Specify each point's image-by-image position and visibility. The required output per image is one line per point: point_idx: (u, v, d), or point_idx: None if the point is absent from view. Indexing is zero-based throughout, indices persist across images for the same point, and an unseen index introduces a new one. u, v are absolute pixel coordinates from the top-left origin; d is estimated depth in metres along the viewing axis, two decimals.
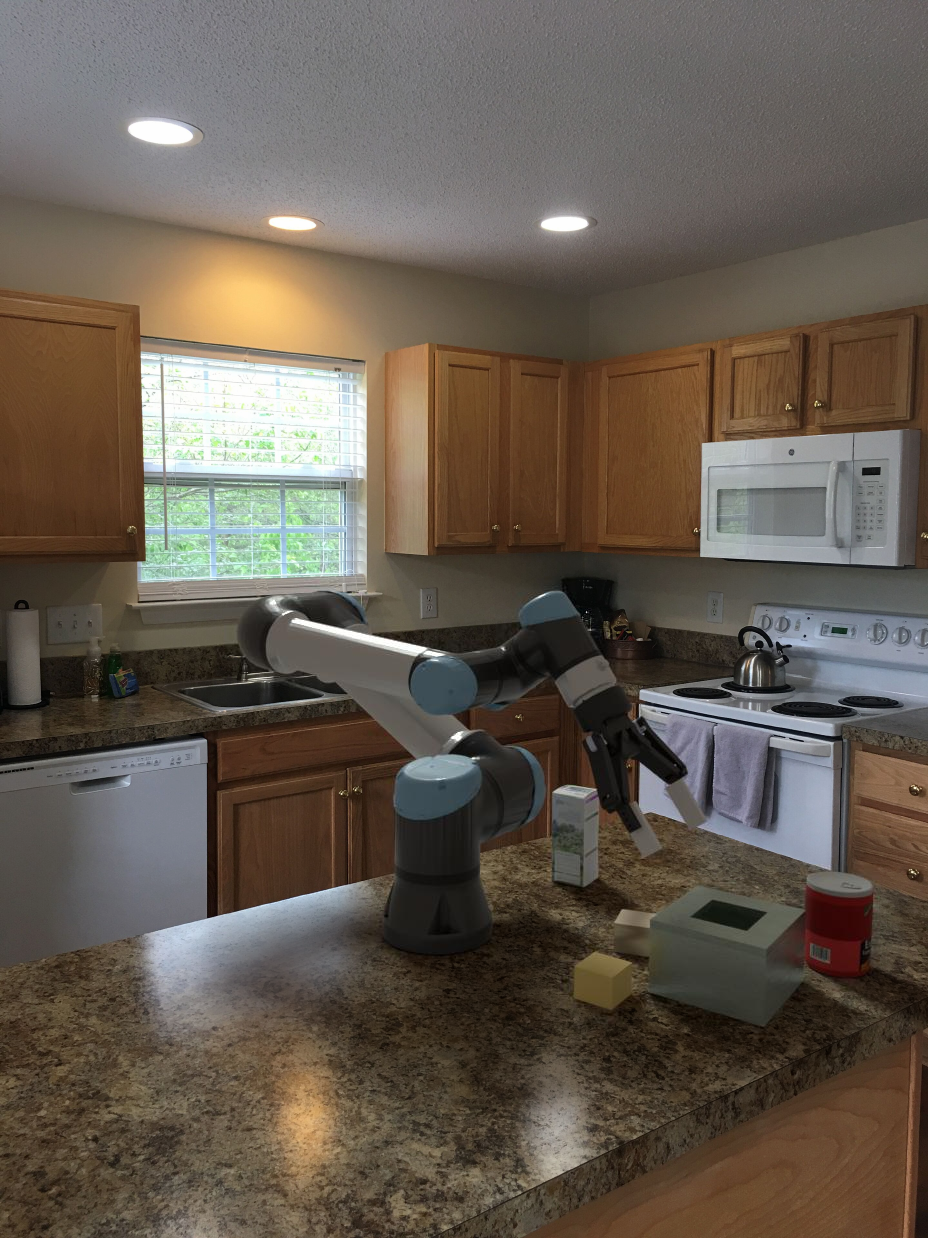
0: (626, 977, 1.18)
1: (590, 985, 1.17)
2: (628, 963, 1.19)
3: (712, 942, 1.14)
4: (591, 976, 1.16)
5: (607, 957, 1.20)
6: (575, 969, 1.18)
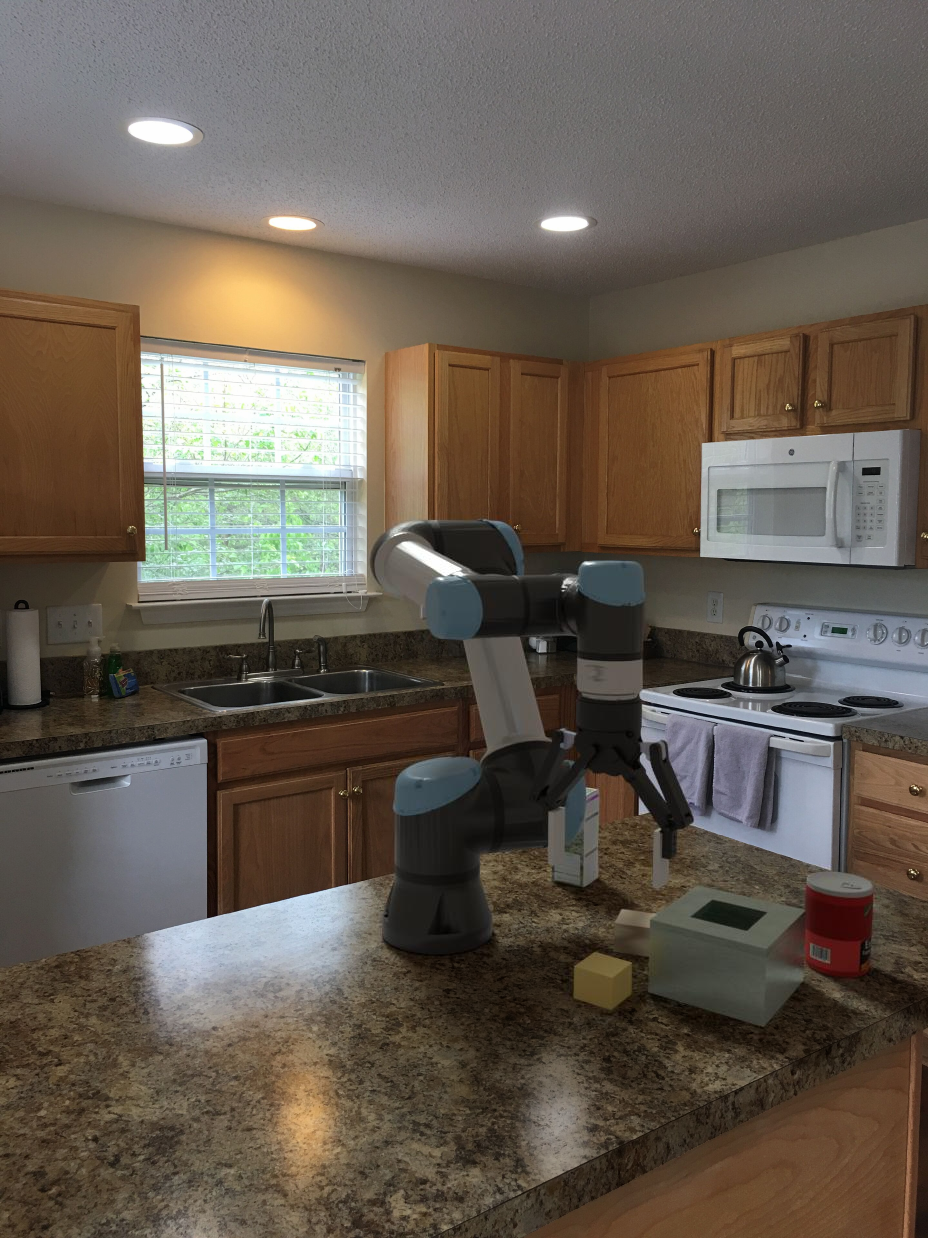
0: (626, 977, 1.18)
1: (589, 985, 1.17)
2: (628, 963, 1.19)
3: (712, 942, 1.14)
4: (591, 976, 1.16)
5: (607, 957, 1.20)
6: (575, 969, 1.18)
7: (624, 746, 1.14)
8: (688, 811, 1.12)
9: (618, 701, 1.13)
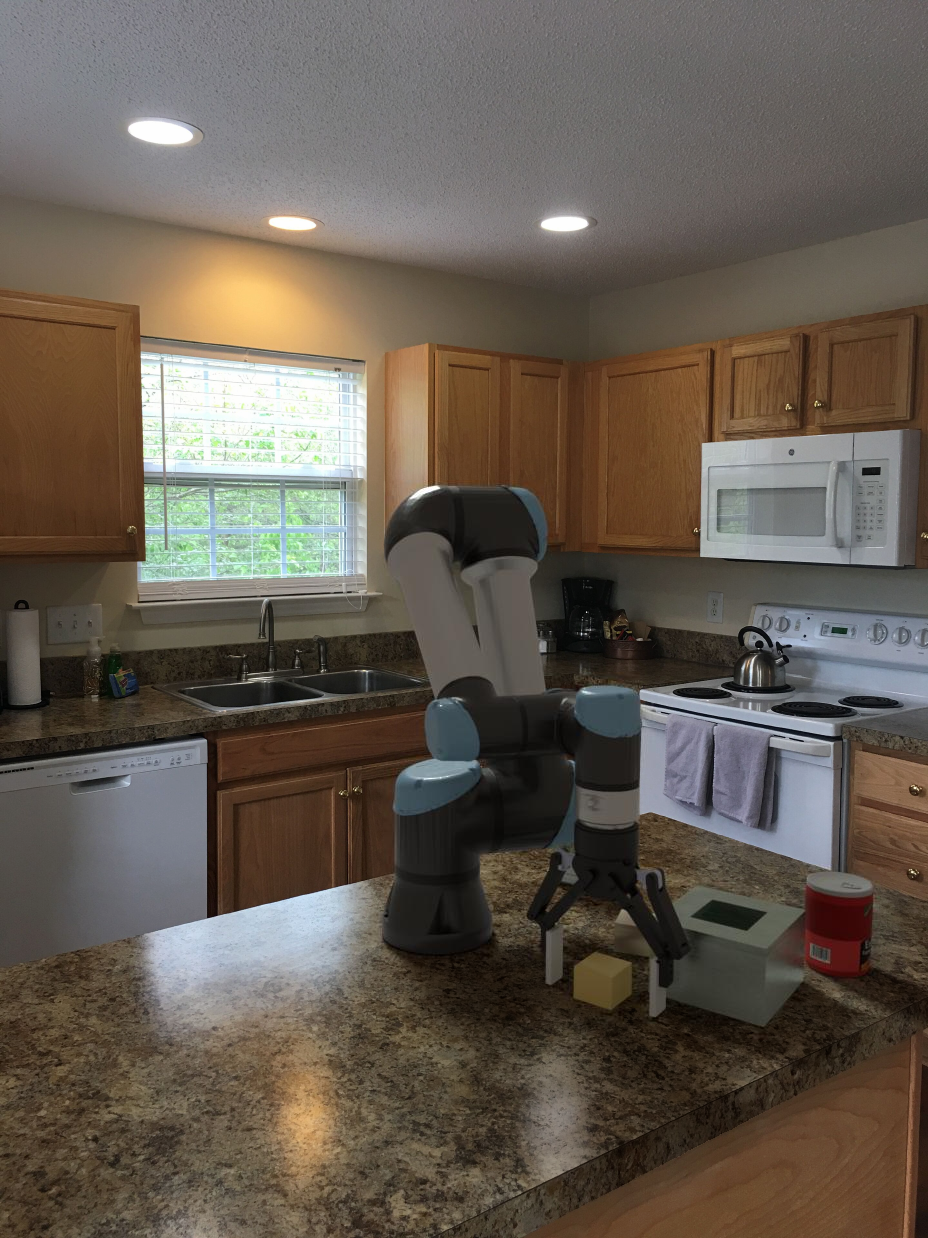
0: (626, 977, 1.18)
1: (589, 985, 1.17)
2: (628, 963, 1.19)
3: (712, 942, 1.14)
4: (591, 976, 1.16)
5: (607, 957, 1.20)
6: (575, 969, 1.18)
7: (621, 874, 1.15)
8: (685, 941, 1.12)
9: (614, 830, 1.14)
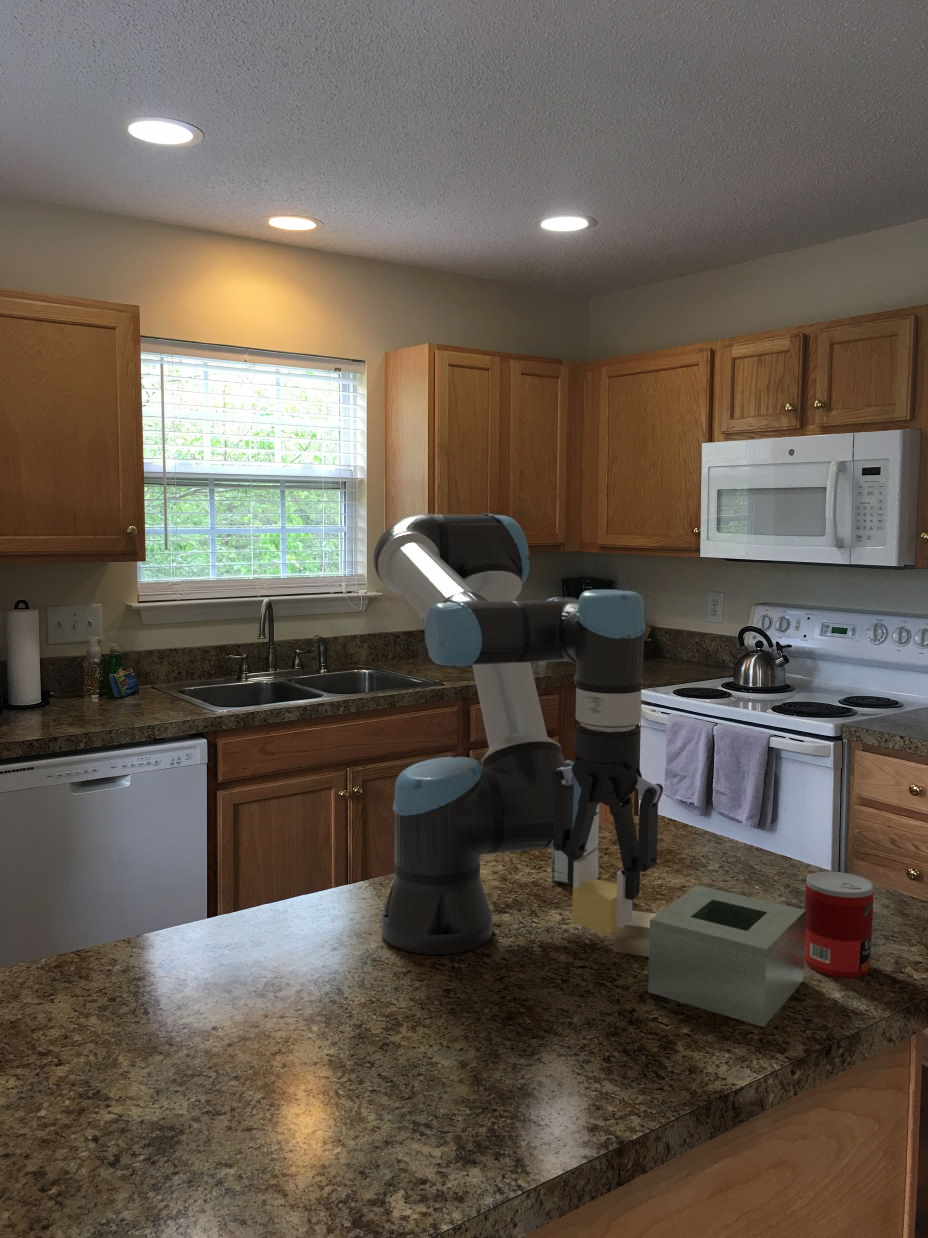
0: None
1: (588, 909, 1.16)
2: None
3: (712, 942, 1.14)
4: (590, 899, 1.16)
5: (606, 883, 1.20)
6: (574, 893, 1.17)
7: (622, 775, 1.14)
8: (654, 856, 1.14)
9: (615, 732, 1.13)
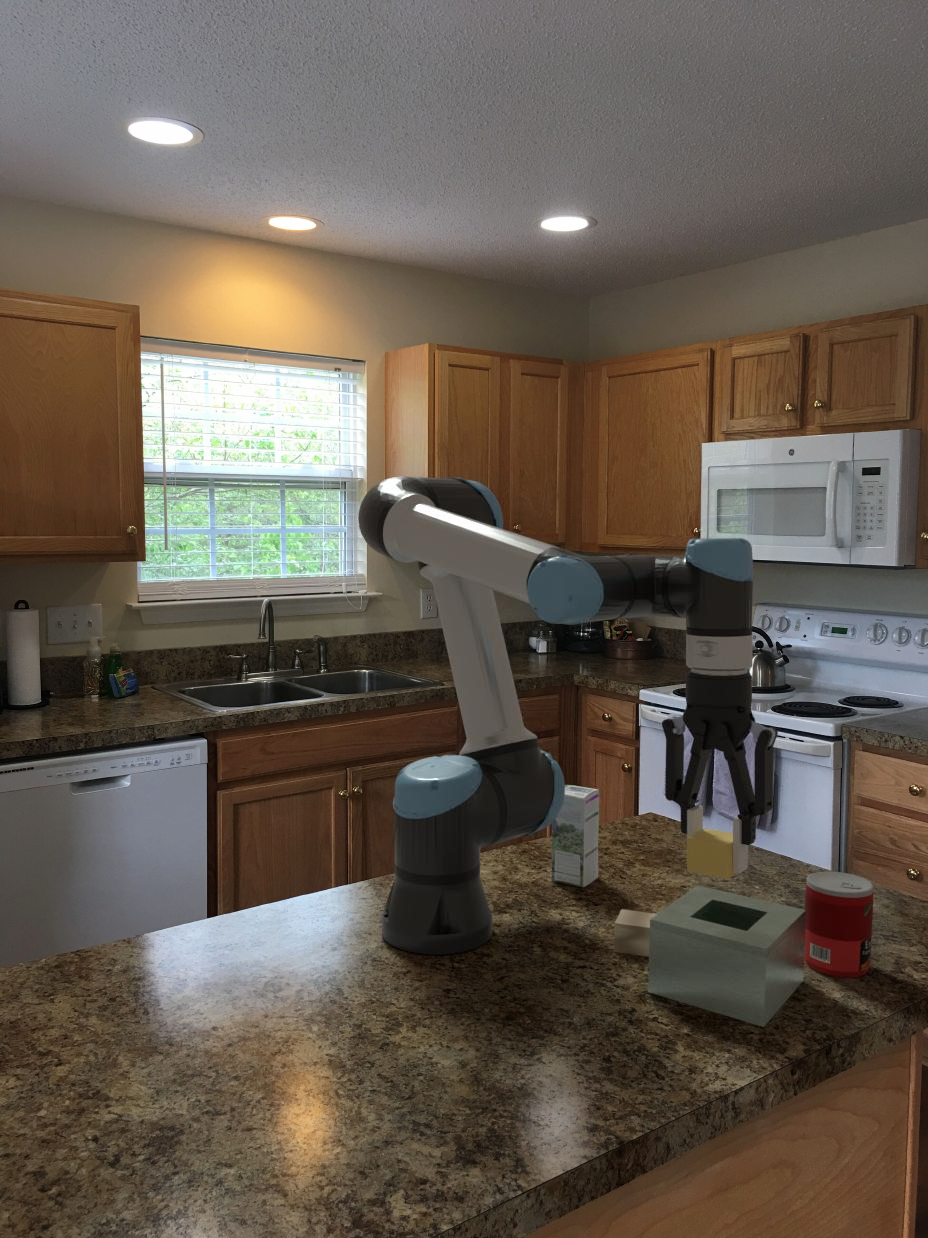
0: None
1: (704, 855, 1.16)
2: None
3: (712, 942, 1.14)
4: (705, 845, 1.16)
5: (719, 831, 1.20)
6: (688, 840, 1.18)
7: (736, 720, 1.15)
8: (770, 800, 1.15)
9: (728, 676, 1.14)
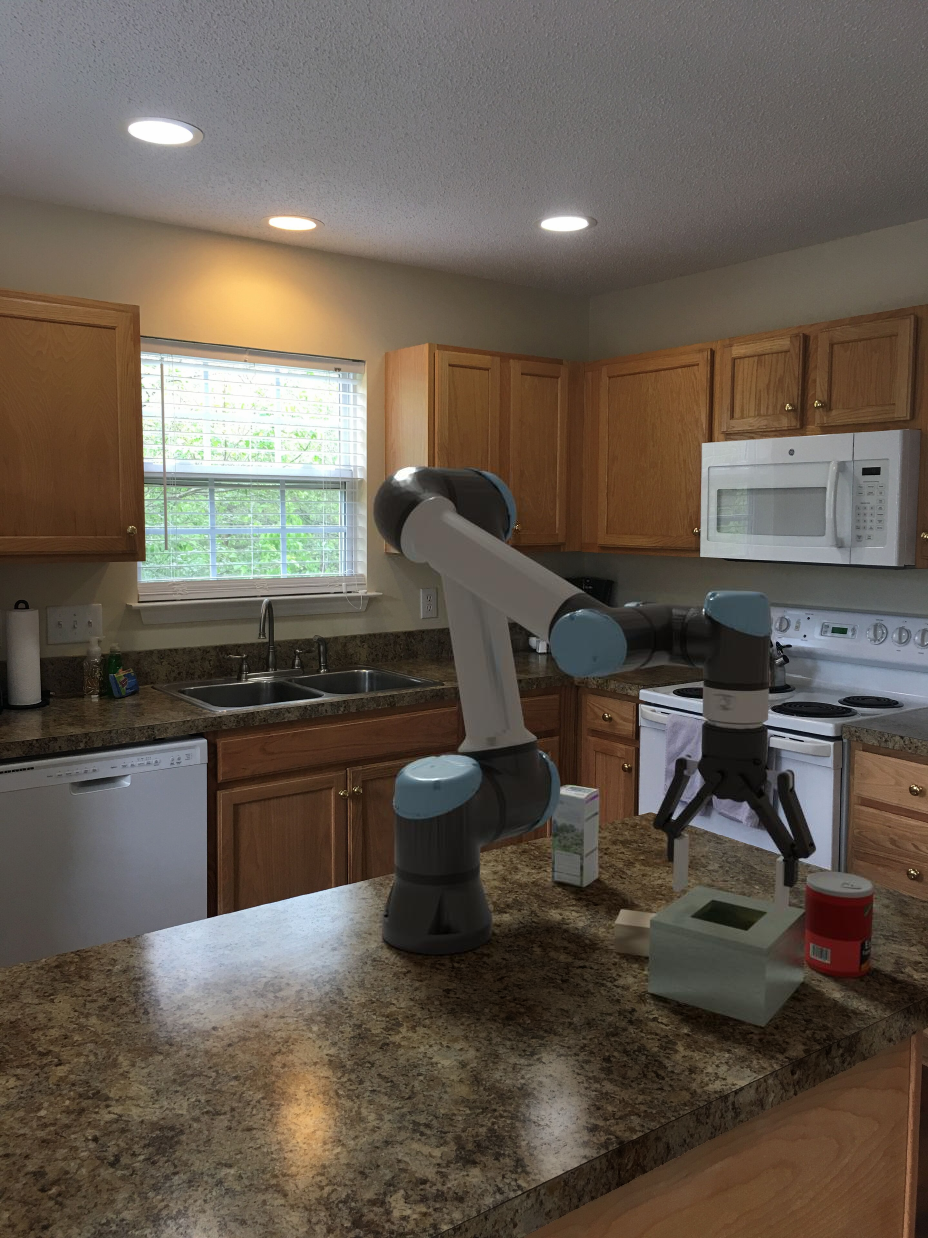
0: None
1: None
2: None
3: (712, 942, 1.14)
4: None
5: None
6: None
7: (751, 773, 1.16)
8: (811, 841, 1.14)
9: (746, 729, 1.15)
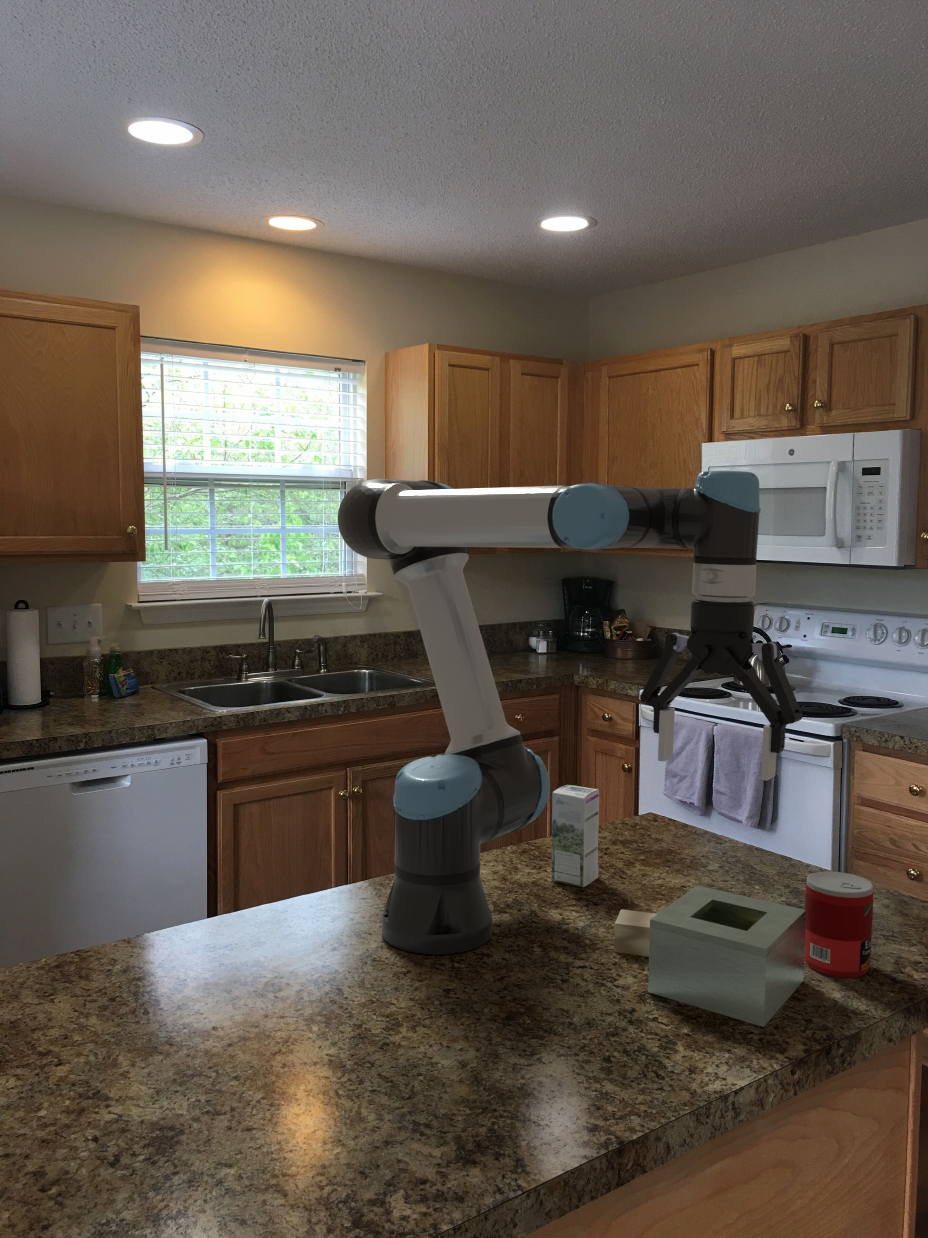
0: None
1: None
2: None
3: (712, 942, 1.14)
4: None
5: None
6: None
7: (737, 646, 1.21)
8: (797, 708, 1.18)
9: (732, 603, 1.19)
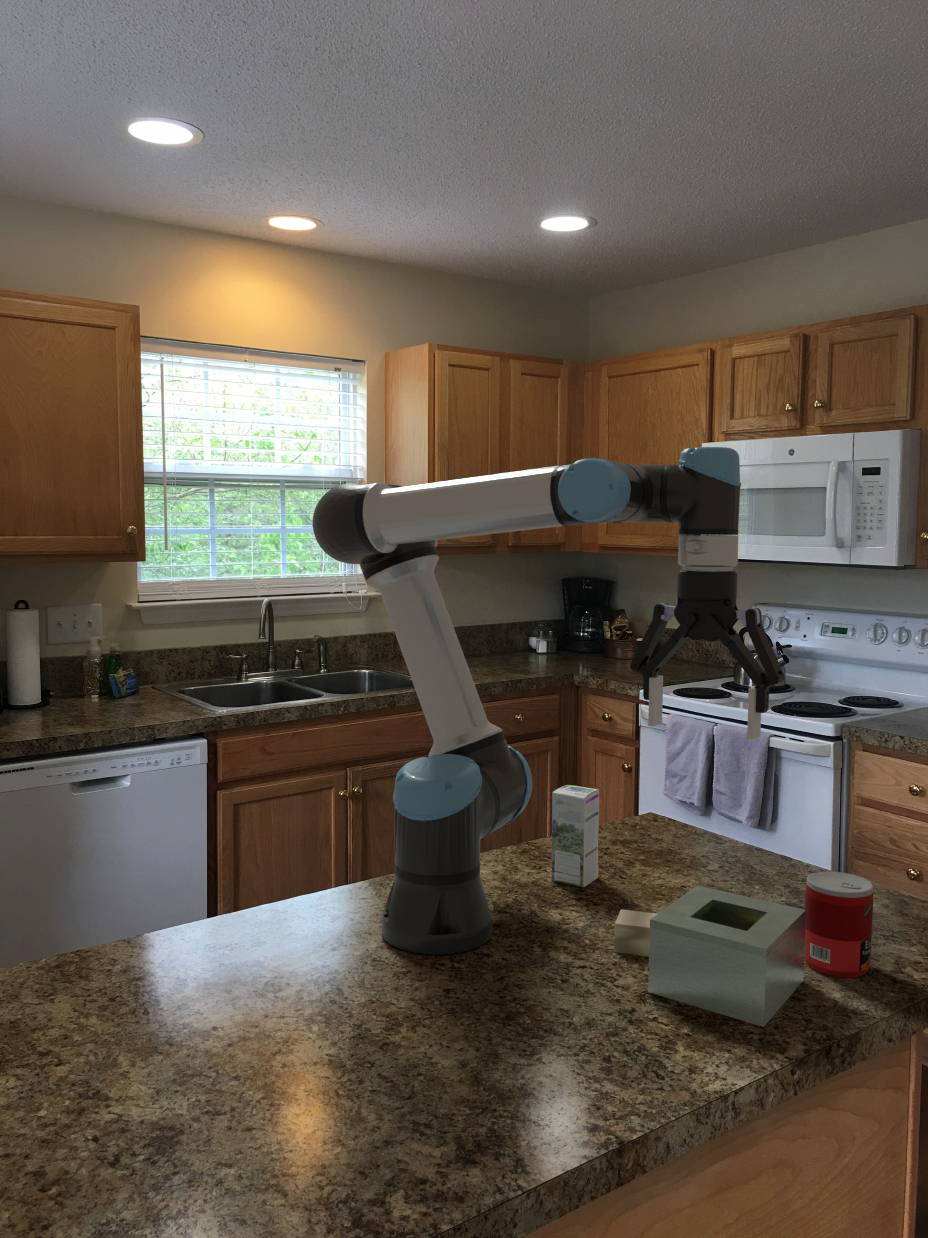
0: None
1: None
2: None
3: (712, 942, 1.14)
4: None
5: None
6: None
7: (722, 613, 1.27)
8: (780, 669, 1.25)
9: (717, 572, 1.26)
